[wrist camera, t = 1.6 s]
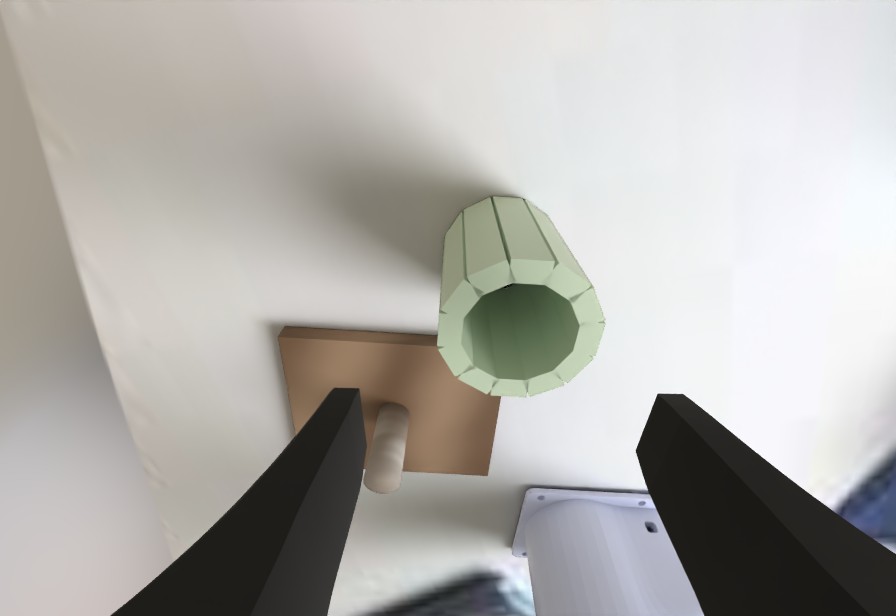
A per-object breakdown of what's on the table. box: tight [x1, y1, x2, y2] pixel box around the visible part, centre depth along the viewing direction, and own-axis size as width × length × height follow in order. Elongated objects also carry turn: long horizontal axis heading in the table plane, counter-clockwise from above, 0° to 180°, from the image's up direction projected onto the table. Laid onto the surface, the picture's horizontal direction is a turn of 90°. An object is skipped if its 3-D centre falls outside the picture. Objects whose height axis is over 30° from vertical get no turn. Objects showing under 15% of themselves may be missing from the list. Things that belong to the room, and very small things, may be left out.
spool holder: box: [278, 327, 501, 494], centre depth 22 cm, size 12×10×6 cm
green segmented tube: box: [437, 196, 605, 397], centre depth 16 cm, size 5×5×7 cm
